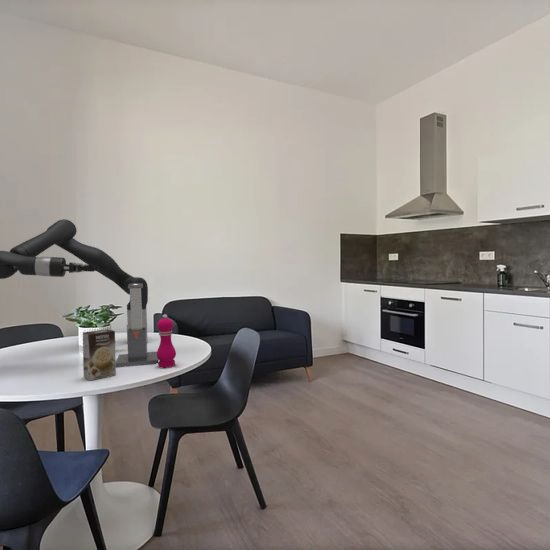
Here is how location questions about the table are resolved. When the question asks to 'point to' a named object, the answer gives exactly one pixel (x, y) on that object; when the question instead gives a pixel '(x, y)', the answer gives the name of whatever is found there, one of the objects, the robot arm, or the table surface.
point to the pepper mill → (165, 343)
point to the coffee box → (99, 354)
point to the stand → (137, 350)
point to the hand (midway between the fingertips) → (96, 268)
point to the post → (136, 306)
